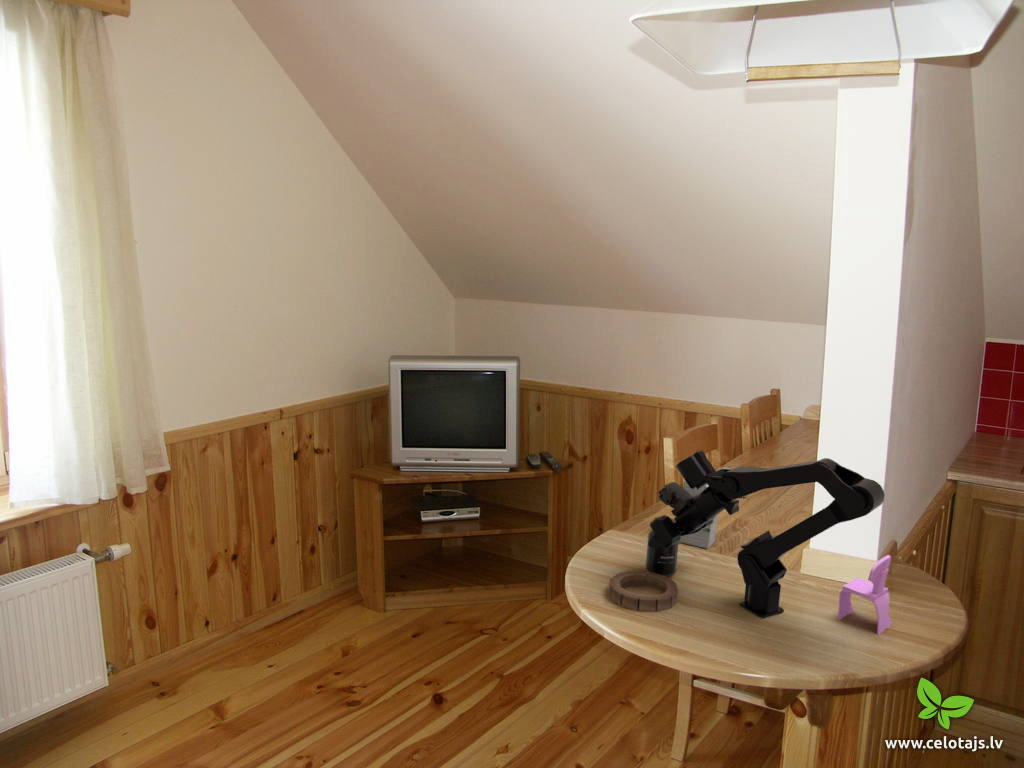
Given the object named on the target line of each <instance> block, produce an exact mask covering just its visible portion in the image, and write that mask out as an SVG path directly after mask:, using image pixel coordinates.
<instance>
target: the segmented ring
mask: <svg viewBox="0 0 1024 768" xmlns="http://www.w3.org/2000/svg"><path fill="white" fill-rule="evenodd" d="M677 585H678V584H677V583H676V582H675V581H674V580H672V579H670V578H669V577H668V576H663V575H660V574H656V573H652V572H648V571H647V570H632V571H631V570H628V571H623V572H618V573H616V574H614V575H613V576H612V577H611V578H609V585H608V586H609V587H608V594H609V598H610V600H612V602H615V603H616V605H618V606H621V607H622V608H627V609H630V610H633V611H635V612H636V611H638V612H648V613H649V612H652V613H654V612H655V613H656V612H658V613H659V612H662V611H665V610H670V609H671V608H673V607H674V606H675V605H676V604H677V603H678V596H679V588H678V586H677ZM631 586H636V587H637V586H638V587H639V586H640V587H641V586H642V587H649V588H653V589H657V590H658V591H660V592H662V593H659V594H656V595H645V594H644V595H643V594H641V595H640V594H637V593H633V592H630V591H627V590H626V589H625V588H628V587H631Z"/></svg>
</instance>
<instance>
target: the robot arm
mask: <svg viewBox="0 0 1024 768" xmlns="http://www.w3.org/2000/svg"><path fill="white" fill-rule="evenodd" d="M675 468H676V470H677V471H678V473H679V474H680V475H681V477H682V478H683V480H684V481H686V482H687V484H688V485H689V487H690V488H692V489H694V488H696V489H697V490H699V489H701V488H703V487H704V486H706V485H707V484H708V485H709V487H707V488H706V489H705V490H703V491H702V492H701V493H699V494H698V495H696V496H694V497H692V496H691V495H690V494H689V493H688V492H687V491H686V490H685V489H684V488H683V487H682V486H681V485H680V484H678V482H675V481H673V482H670V483H667V484H664V486H663V487H662V488H661V489H660V490H658V500H660V501H661V502H662V503H663V504H664V505H666V506H669V507H670V508H672V510H671V511H670V512H671V514H672V515H673V516H674V517H673V519H674V520H675V521H676V523H673V522H672V520H671V519H670V518H671V517H670V516H669V515H664V514H662V515H661V516H658V517H659V518H656V517H655V518H656V519H655V518H654V519H655V520H654V519H653V520H651V522H650V523H649V527H650V528H651V530H653V531H654V535H653V536H652V538H651V539H650V541H649V542H648V541H647V542H648V545H649V547H659V546H664V547H665V548H668V547H670V546H672V545H673V544H675V543H677V542H678V541H679V540H680V538H681V536H684V535H689V534H694V533H696V532H698V531H700V530H701V529H704V528H706V527H708V526H709V525H711V524H712V523H713V518H715V516H716V515H717V514H718V515H719V514H720V513H722V512H723V511H724V510H725V511H726V512H727V514H728V515H729V516H732V515H734V514H735V513H738V512H739V511H740V506H739V505H740V500H738V499H740V498H742V497H743V496H746V495H747V496H749V495H751V494H754V493H757V492H759V491H762V490H763V491H764V490H766V489H773V488H782V487H788V486H795V485H803V484H811V483H818V484H819V485H821V486H822V487H823V489H825V490H826V492H827V493H828V494H829V495H830V496H831V497H832V498H833V500H832V502H830V503H829V504H828V505H827V506H826V507H824V508H822V509H821V510H819V511H817V512H816V513H814V514H812V515H810V516H809V517H807V518H805V519H802V521H800V522H798V523H797V524H795V525H793V526H792V527H790V528H788V529H786V530H785V531H783V532H781V533H779V534H775V535H772V533H771V531H770V530H767V531H765V532H763V533H762V534H759V536H756V537H754V538H753V539H751V540H750V541H748V542H746V543H745V544H743V545H741V546H740V547H741V550H740V551H739V552H738V553H737V564H738V567H739V568H740V570H741V575H742V578H743V582H744V584H745V589H744V601H743V600H742V601H740V602H739V606H741V607H742V608H744V609H746V610H747V611H749V612H751V613H752V614H754V615H756V616H757V617H759V618H766V617H769V616H772V615H776V614H780V613H784V611H785V609H784V607H781V606H780V598H781V597H780V596H781V589H782V584H780V583H779V580H781V579H783V578H784V577H785V575H786V573H787V571H788V570H787V568H786V566H785V565H784V563H783V561H781V560H780V559H782V558H783V557H784V556H785V555H786V554H787V552H789V551H792V550H793V549H795V548H796V547H798V546H799V545H802V544H804V543H806V542H807V541H810V540H811V539H812V538H814V537H816V536H818V535H820V534H822V533H823V532H825V531H826V530H828V529H831V528H832V527H833V526H835V525H838V524H840V523H845V522H849V521H853V520H855V519H856V520H857V519H859V518H863V517H865V516H867V515H869V514H871V512H873V511H874V510H876V509H878V507H880V506H881V505H883V503H884V499H885V490H884V488H883V486H882V485H881V484H880V483H879V482H877V481H876V480H873V479H870V478H867V477H866V478H865V477H864V476H863V475H862V474H860V473H858V472H856V471H854V470H851V469H850V468H847V467H845V466H842V465H841V464H839V463H838V462H836V461H834V460H833V459H831V458H830V457H829V458H826V457H825V458H822V459H819V460H813V461H806V462H801V463H800V462H799V463H793V464H792V463H791V464H788V465H780V466H774V467H760V466H759V467H758V466H752V465H751V466H748V465H747V466H746V465H739V466H737V467H735V468H730V469H720V470H717V469H715V467H714V466H713V464H711V462H710V460H709V459H708V457H707V456H706V454H705V452H704V451H703V449H702V450H701V449H700V450H697V451H696V452H695V453H694V454H692V455H690V456H688V457H686V458H684V459H682V460H681V461H680V462H678V463H677V464H676V465H675ZM716 470H717V471H716ZM747 496H746V497H747ZM703 524H704V525H703ZM702 525H703V526H702Z"/></svg>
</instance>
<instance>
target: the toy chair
mask: <svg viewBox="0 0 1024 768" xmlns="http://www.w3.org/2000/svg"><path fill="white" fill-rule="evenodd" d="M891 560H892V556H891V555H890V554H887V555H885V556H884V557H882V558H881V559H879V560H878V561H876V563H875V564H873V566H871V567H872V568H871V570H870V572H869V574H868V578H867V580H868V581H867V580H865V579H862V578H860V577H856V578H854V579H853V580H851V581H849V582H848V583H845V584H843V586H842V590H840V592H839V597H838V598H839V600H838V614H837V620H838V621H841V620H842V619H844V618H845V617H847V616H848V615H849V613H850V612H851V613H853V612H854V609H853V605H852V599H851V597H852V595H857V596H859V597H862V598H863V599H866V600H869V601H870V602H872V603H873V604H874V606H875V610H876V611H875V612H876V614H877V615H876V616H877V630H876V635H877V634H878V635H877V636H880V635H881V634H883V633H884V632H885V631H886V630H885V629H886V628H887V627H889V626H890V625H891V624H892V625H893V623H892V621H891V616H890V600H891V599H890V597H891V596H890V593H889V587H886V586H885V584H886V580H887V578H888V573H889V571H890V568H889V567H890V565H891V562H892V561H891ZM852 611H853V612H852ZM851 613H850V614H851ZM847 614H848V615H847ZM846 615H847V616H846ZM844 616H845V617H844ZM843 617H844V618H843ZM840 619H841V620H840ZM889 628H890V627H889ZM884 630H885V631H884ZM883 631H884V632H883ZM882 632H883V633H882ZM880 633H881V634H880ZM879 634H880V635H879Z"/></svg>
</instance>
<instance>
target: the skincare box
mask: <svg viewBox="0 0 1024 768" xmlns="http://www.w3.org/2000/svg"><path fill="white" fill-rule="evenodd" d="M682 485H683V487H682V488H684V489H685V490H686V491H687V492H688V493H689V494H690V495H691V496H692V497H694V496H696V495H698V494H699V493H701V492H702V491H703V490H705V489H706V488H707V487H709V485H708V484H707V485H706V486H704V487H703V488H701V489H699V490H697V489H696V488H694V489H692V488H690V487H689V485H688V484H687V482H686V481H685V480H684V481H683V484H682ZM718 517H719V514H717V515H716V516H715V518H713V523H712V524H711V525H709V526H708V527H706V528H704V529H701V530H700V531H698V532H696V533H694V534H689V535H684V536H681V538H680V540H679V543H680V544H685V545H690V546H693V547H697V548H698V547H699V548H704V549H709V548H710V547H711V546H712V544H713V543H715V540H716V534H717V525H718ZM703 525H704V524H703ZM703 525H702V526H703ZM679 543H678V544H679Z"/></svg>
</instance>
